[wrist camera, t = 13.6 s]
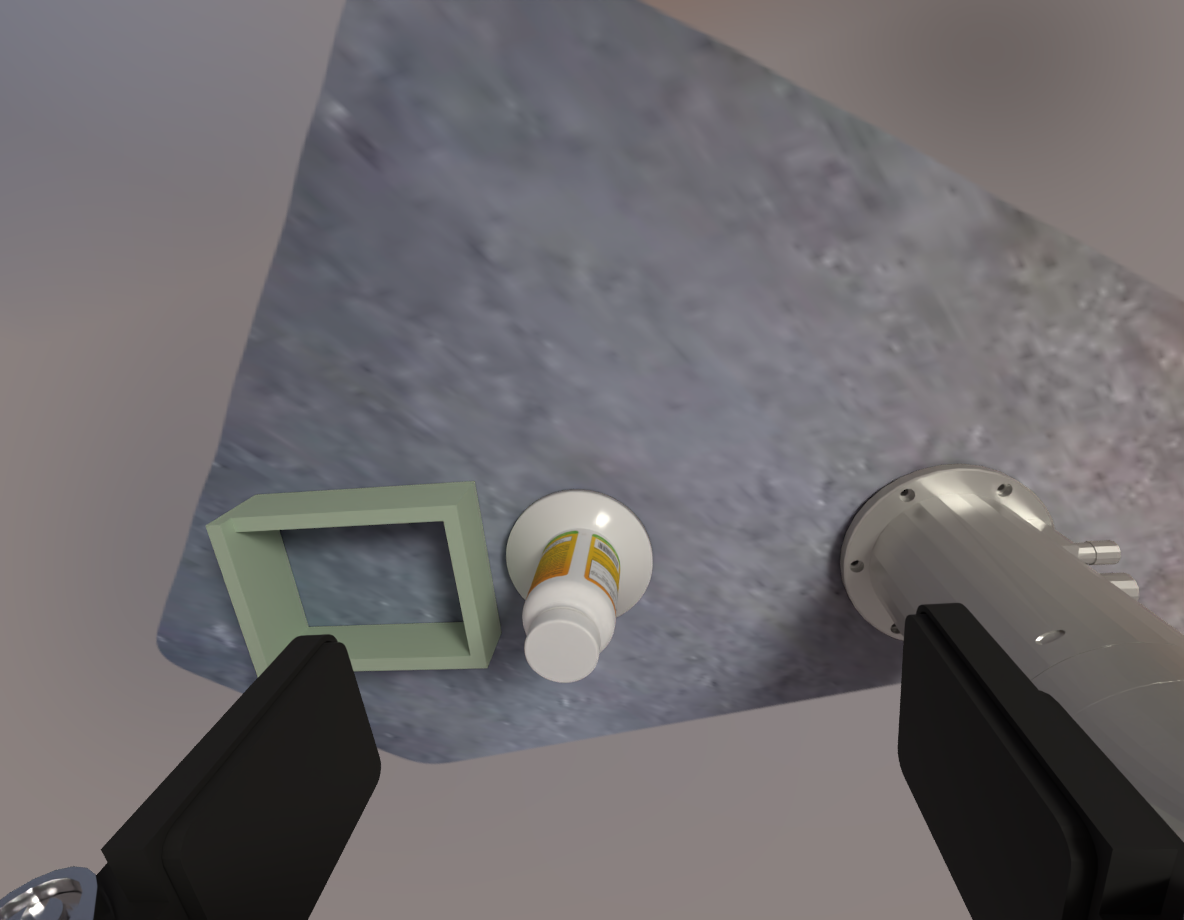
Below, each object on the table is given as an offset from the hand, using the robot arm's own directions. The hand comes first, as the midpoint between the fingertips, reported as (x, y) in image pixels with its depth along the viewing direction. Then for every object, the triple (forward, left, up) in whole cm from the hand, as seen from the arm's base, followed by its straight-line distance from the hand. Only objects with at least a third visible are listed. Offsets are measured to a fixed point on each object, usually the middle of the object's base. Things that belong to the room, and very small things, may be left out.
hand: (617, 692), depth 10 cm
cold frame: (+20, +13, -28) cm, 37 cm away
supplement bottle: (+5, +13, -28) cm, 31 cm away
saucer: (+5, +13, -28) cm, 31 cm away
